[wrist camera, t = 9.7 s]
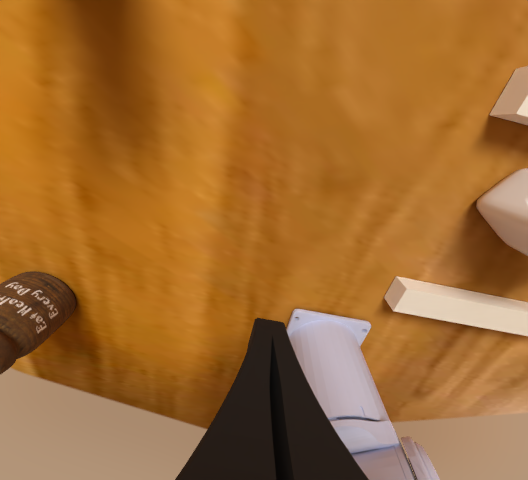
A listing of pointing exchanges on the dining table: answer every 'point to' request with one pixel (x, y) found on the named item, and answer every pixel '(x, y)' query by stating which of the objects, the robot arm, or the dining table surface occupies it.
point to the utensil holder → (30, 313)
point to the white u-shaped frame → (458, 300)
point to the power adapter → (508, 209)
